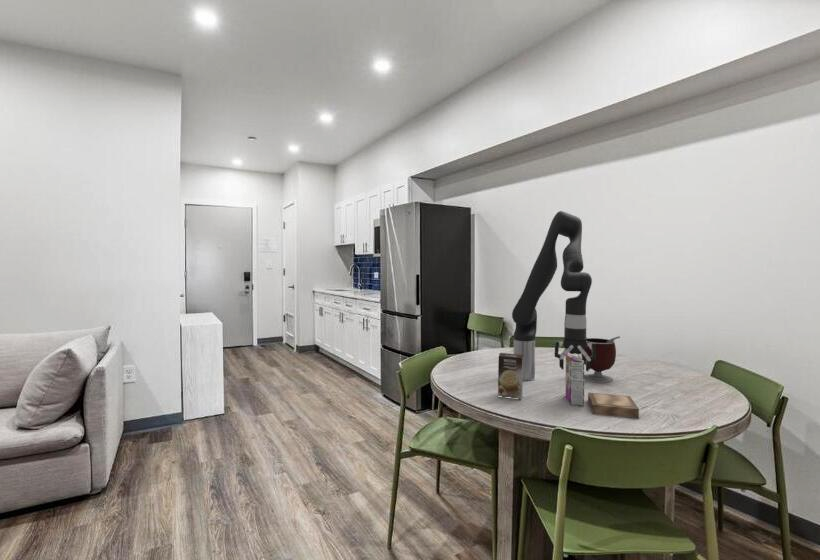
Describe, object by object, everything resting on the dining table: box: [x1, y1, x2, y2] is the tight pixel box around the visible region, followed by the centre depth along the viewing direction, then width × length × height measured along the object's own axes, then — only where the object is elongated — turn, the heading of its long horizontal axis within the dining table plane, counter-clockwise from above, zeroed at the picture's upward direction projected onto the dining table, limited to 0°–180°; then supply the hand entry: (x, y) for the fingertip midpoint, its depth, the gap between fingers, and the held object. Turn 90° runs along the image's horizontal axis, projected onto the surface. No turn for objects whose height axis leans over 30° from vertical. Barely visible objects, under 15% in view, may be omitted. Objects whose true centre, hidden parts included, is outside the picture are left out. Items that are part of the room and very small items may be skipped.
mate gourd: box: [580, 335, 621, 384], centre depth 181 cm, size 16×14×20 cm
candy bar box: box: [565, 353, 585, 407], centre depth 153 cm, size 11×5×16 cm, turn 168°
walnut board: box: [587, 392, 640, 419], centre depth 144 cm, size 14×14×3 cm
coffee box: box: [497, 352, 524, 399], centre depth 158 cm, size 9×6×16 cm
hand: (574, 369), depth 152 cm, fingers open, 8 cm apart
